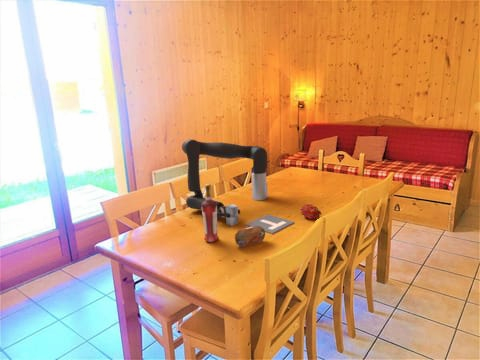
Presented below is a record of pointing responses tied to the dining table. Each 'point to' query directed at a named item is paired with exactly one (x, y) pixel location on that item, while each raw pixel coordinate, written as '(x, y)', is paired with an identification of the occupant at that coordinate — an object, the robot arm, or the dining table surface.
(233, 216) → the grey block
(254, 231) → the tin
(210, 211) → the liquor
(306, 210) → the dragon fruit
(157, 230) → the dining table surface
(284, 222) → the letter board
